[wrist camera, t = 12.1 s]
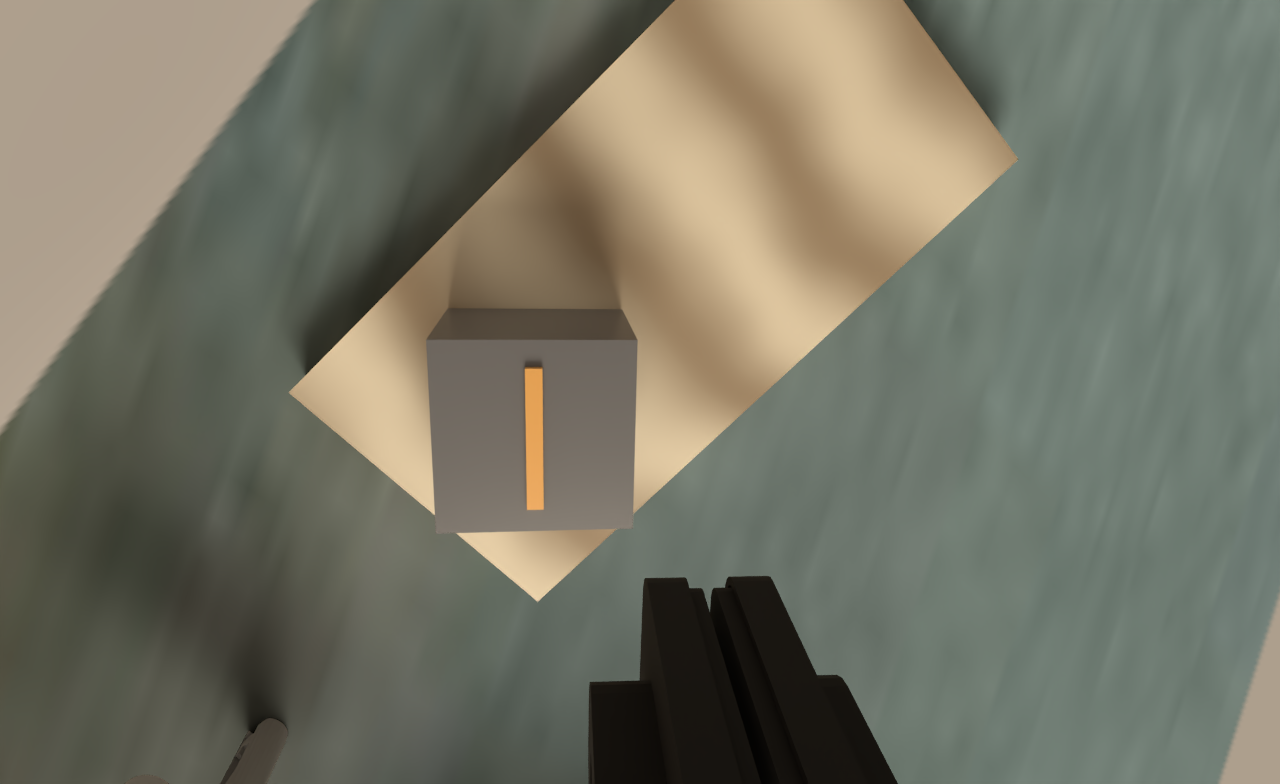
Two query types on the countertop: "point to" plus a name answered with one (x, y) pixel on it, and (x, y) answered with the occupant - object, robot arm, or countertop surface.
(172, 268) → the countertop surface
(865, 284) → the light wood flat block
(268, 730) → the mechanical component
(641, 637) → the robot arm
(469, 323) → the grey and orange block
